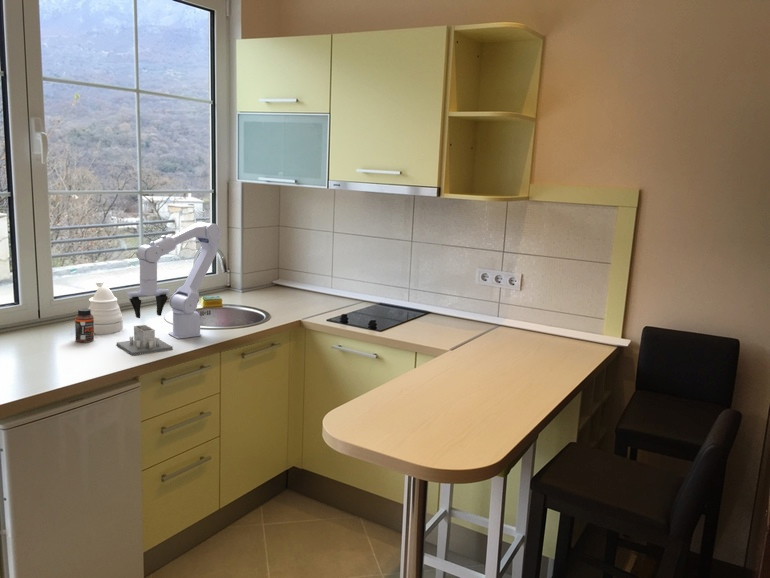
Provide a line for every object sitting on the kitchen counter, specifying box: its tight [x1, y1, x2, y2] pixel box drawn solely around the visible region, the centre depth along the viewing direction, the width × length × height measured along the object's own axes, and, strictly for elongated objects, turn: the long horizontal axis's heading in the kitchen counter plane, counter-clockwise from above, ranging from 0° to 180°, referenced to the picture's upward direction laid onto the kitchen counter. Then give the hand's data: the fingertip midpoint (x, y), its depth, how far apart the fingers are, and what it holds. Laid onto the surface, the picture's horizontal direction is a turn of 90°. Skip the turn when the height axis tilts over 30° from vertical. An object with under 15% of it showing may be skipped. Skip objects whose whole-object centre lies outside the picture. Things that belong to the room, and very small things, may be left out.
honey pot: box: [87, 280, 124, 334], centre depth 242 cm, size 13×13×18 cm
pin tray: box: [116, 336, 173, 356], centre depth 224 cm, size 14×14×4 cm
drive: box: [133, 324, 156, 348], centre depth 224 cm, size 8×4×6 cm, turn 42°
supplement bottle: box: [74, 307, 95, 343], centre depth 227 cm, size 6×6×11 cm
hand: (148, 316), depth 230 cm, fingers open, 7 cm apart
